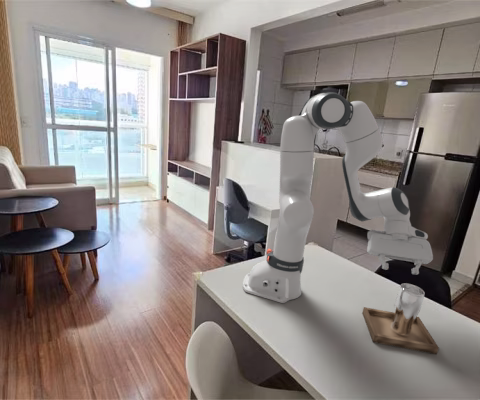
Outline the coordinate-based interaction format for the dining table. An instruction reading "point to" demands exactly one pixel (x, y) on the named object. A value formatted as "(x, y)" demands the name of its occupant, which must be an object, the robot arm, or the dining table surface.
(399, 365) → the dining table surface
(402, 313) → the beer glass
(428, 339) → the walnut tray
